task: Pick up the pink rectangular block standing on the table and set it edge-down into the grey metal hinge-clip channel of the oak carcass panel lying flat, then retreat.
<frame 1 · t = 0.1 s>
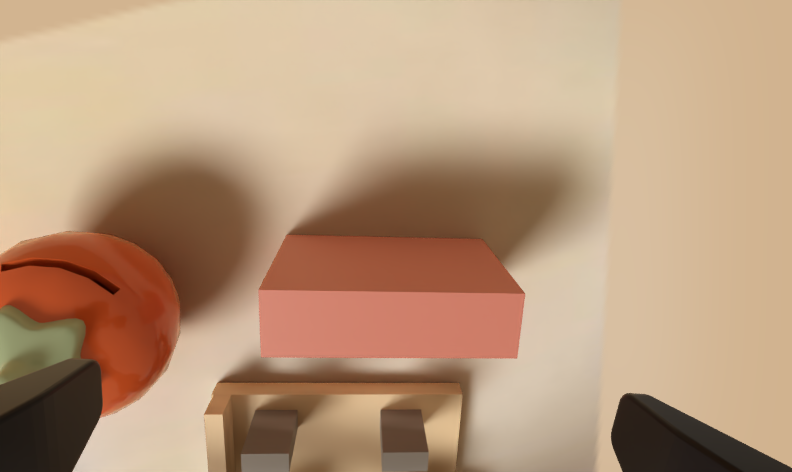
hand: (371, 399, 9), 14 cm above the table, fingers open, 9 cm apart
pink rectangular block: (384, 261, 23), on the table
carcass: (339, 443, 26), on the table
tomato: (123, 286, 23), on the table
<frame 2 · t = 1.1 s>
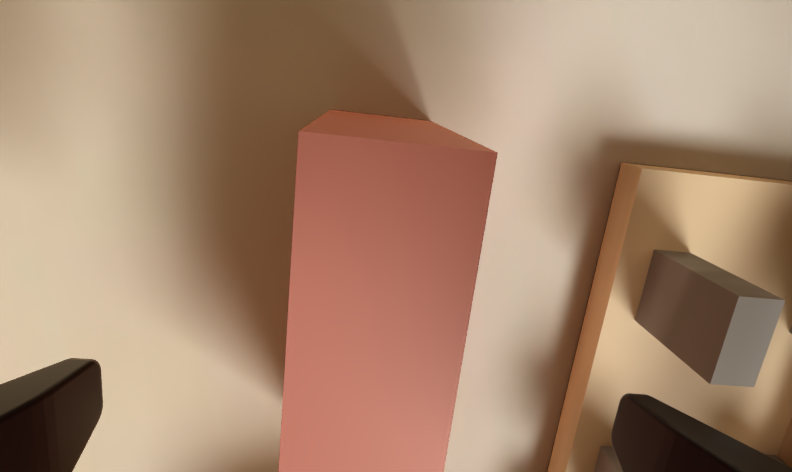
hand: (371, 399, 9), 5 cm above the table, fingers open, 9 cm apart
pink rectangular block: (363, 282, 14), on the table
carcass: (687, 372, 15), on the table
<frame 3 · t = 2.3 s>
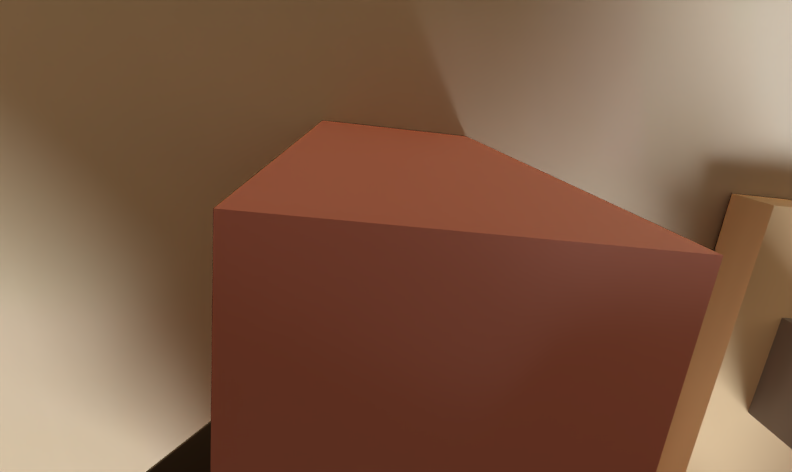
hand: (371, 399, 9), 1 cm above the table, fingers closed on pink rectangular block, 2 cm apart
pink rectangular block: (369, 359, 10), on the table, touching gripper
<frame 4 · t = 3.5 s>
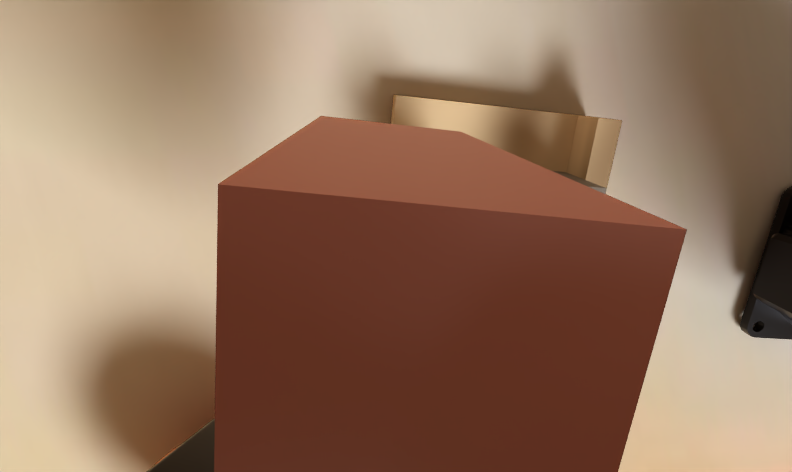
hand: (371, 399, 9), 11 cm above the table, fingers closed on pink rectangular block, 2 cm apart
pink rectangular block: (367, 350, 10), point 9 cm above the table, touching gripper
carcass: (468, 261, 20), on the table
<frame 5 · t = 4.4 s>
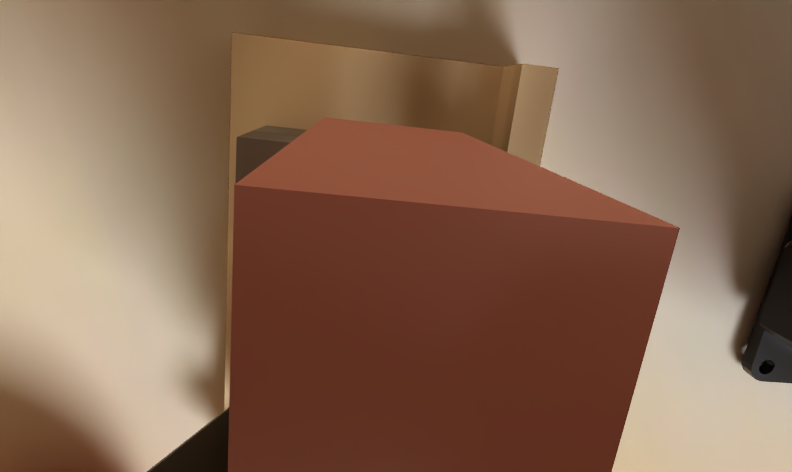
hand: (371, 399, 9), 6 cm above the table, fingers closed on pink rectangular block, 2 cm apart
pink rectangular block: (369, 348, 10), point 4 cm above the table, touching gripper
carcass: (363, 274, 14), on the table
when the fingers open (4 cm above the table, at t = 4.9 s): pink rectangular block drops 2 cm, resting on carcass.
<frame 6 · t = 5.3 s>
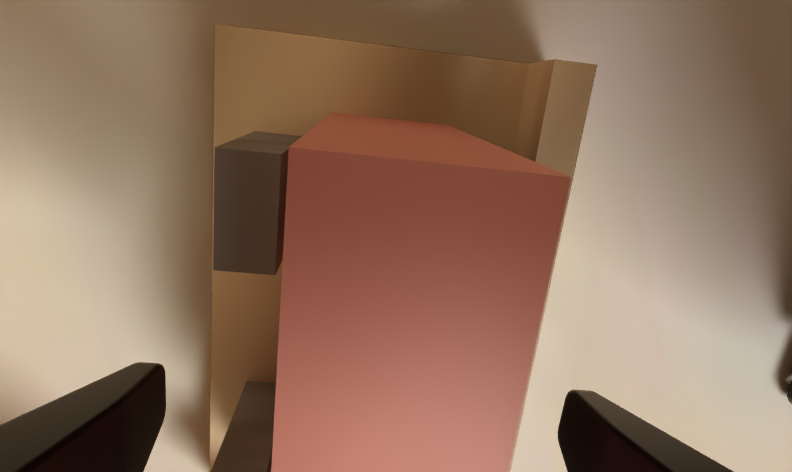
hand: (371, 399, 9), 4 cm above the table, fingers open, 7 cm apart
pink rectangular block: (370, 312, 12), point 1 cm above the table, touching carcass
carcass: (366, 297, 13), on the table
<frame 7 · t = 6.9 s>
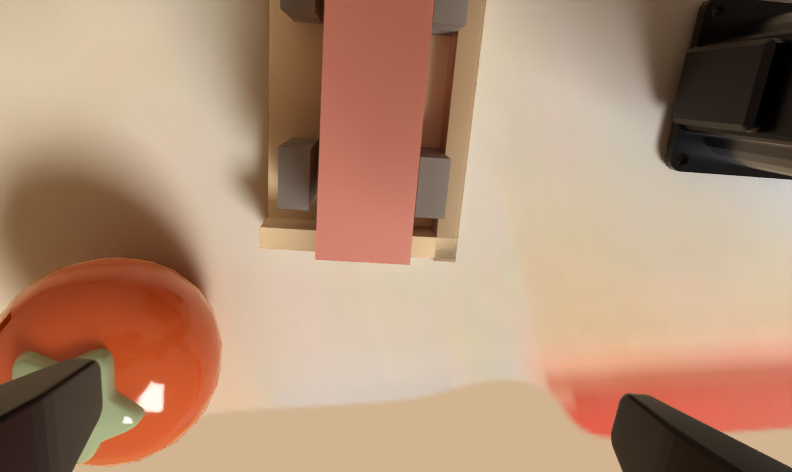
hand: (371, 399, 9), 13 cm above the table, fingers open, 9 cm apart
pink rectangular block: (371, 86, 18), point 1 cm above the table, touching carcass
carcass: (368, 87, 19), on the table
tomato: (156, 312, 21), on the table
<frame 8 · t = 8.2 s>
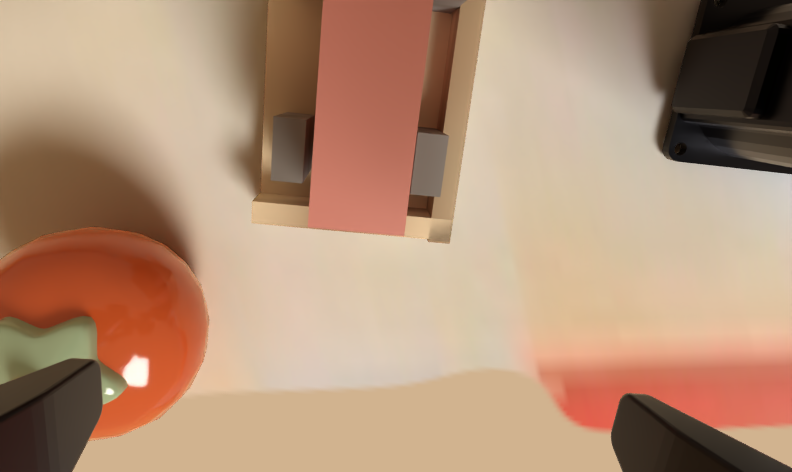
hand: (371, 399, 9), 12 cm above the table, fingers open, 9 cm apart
pink rectangular block: (369, 62, 18), point 1 cm above the table, touching carcass
carcass: (367, 64, 19), on the table
tomato: (143, 288, 21), on the table
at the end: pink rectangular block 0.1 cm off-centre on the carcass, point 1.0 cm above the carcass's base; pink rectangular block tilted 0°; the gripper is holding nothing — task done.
